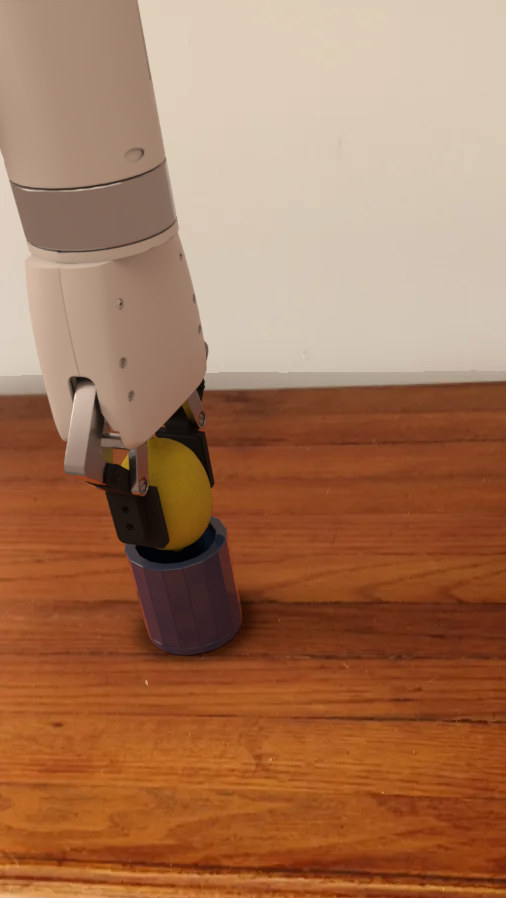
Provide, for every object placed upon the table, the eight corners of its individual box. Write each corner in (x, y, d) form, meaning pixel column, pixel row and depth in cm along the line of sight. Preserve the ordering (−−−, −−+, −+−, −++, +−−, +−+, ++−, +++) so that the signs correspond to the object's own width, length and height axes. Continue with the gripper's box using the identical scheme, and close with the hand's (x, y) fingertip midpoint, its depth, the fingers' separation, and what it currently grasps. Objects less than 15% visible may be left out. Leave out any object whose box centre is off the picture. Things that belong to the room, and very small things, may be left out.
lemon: (204, 516, 64) (182, 406, 58) (233, 559, 60) (212, 445, 54) (124, 541, 62) (94, 430, 57) (148, 586, 58) (118, 472, 53)
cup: (131, 646, 63) (106, 561, 59) (174, 588, 68) (153, 505, 63) (219, 662, 62) (200, 576, 57) (257, 601, 66) (242, 517, 62)
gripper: (115, 156, 54) (175, 439, 66) (-75, 266, 42) (41, 589, 54) (236, 158, 52) (276, 450, 64) (73, 275, 40) (160, 609, 52)
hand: (168, 511), depth 59 cm, fingers closed on lemon, 5 cm apart
